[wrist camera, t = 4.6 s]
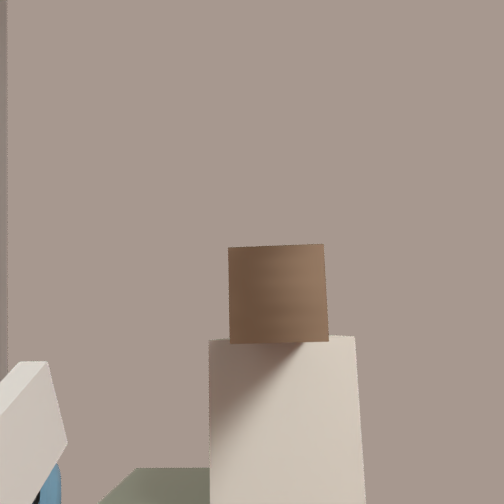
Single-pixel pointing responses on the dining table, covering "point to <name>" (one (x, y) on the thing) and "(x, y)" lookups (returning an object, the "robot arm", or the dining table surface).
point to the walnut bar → (277, 294)
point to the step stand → (270, 431)
